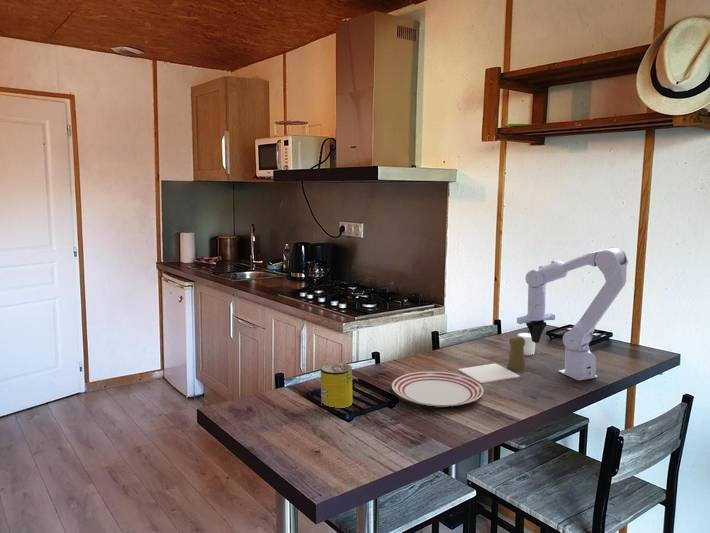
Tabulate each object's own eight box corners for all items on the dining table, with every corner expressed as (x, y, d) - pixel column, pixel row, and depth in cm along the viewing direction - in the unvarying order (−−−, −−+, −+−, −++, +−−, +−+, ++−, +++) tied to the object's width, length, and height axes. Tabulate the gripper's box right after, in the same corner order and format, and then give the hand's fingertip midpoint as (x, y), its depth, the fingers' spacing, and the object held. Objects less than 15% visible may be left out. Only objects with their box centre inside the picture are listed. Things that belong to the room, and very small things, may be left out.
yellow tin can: (346, 399, 165) (345, 361, 163) (357, 410, 156) (356, 370, 155) (317, 404, 162) (316, 365, 160) (327, 416, 153) (326, 374, 151)
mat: (520, 377, 180) (520, 375, 180) (481, 383, 175) (481, 382, 175) (495, 364, 194) (495, 363, 193) (458, 370, 188) (458, 368, 188)
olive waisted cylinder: (523, 365, 192) (524, 334, 191) (527, 371, 186) (528, 339, 185) (506, 365, 193) (506, 334, 191) (509, 370, 187) (509, 339, 185)
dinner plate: (485, 383, 176) (485, 373, 176) (481, 418, 150) (481, 406, 150) (401, 377, 183) (401, 367, 183) (383, 409, 157) (382, 398, 157)
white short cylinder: (513, 351, 209) (513, 333, 208) (528, 349, 211) (529, 331, 210) (523, 356, 202) (524, 338, 201) (539, 354, 204) (540, 336, 203)
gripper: (546, 299, 195) (544, 336, 197) (511, 303, 190) (510, 341, 192) (559, 303, 188) (558, 341, 190) (524, 307, 184) (523, 346, 186)
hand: (535, 341), depth 191 cm, fingers closed
